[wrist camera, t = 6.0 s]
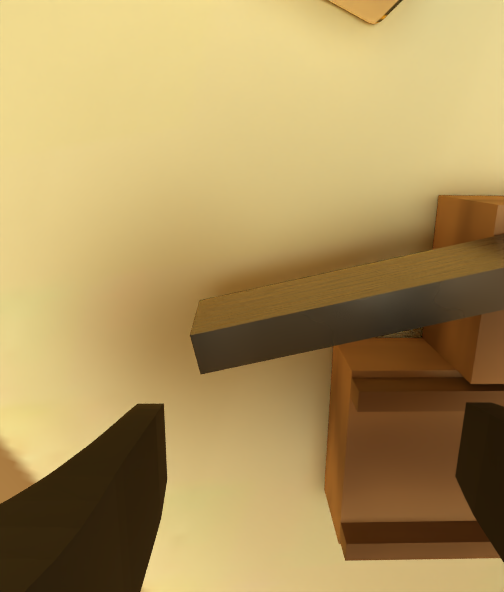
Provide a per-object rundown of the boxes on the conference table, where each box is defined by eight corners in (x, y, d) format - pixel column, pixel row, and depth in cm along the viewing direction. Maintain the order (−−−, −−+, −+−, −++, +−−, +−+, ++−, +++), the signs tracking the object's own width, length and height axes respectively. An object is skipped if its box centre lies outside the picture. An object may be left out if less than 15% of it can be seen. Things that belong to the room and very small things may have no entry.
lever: (208, 335, 14) (201, 381, 11) (198, 297, 13) (188, 334, 10) (570, 257, 13) (662, 283, 10) (569, 216, 13) (663, 231, 10)
